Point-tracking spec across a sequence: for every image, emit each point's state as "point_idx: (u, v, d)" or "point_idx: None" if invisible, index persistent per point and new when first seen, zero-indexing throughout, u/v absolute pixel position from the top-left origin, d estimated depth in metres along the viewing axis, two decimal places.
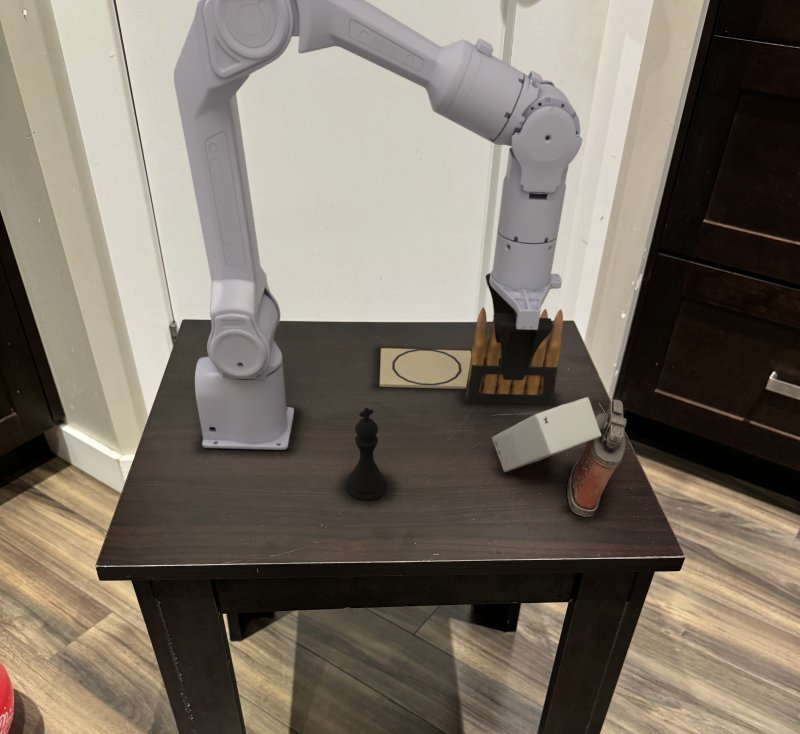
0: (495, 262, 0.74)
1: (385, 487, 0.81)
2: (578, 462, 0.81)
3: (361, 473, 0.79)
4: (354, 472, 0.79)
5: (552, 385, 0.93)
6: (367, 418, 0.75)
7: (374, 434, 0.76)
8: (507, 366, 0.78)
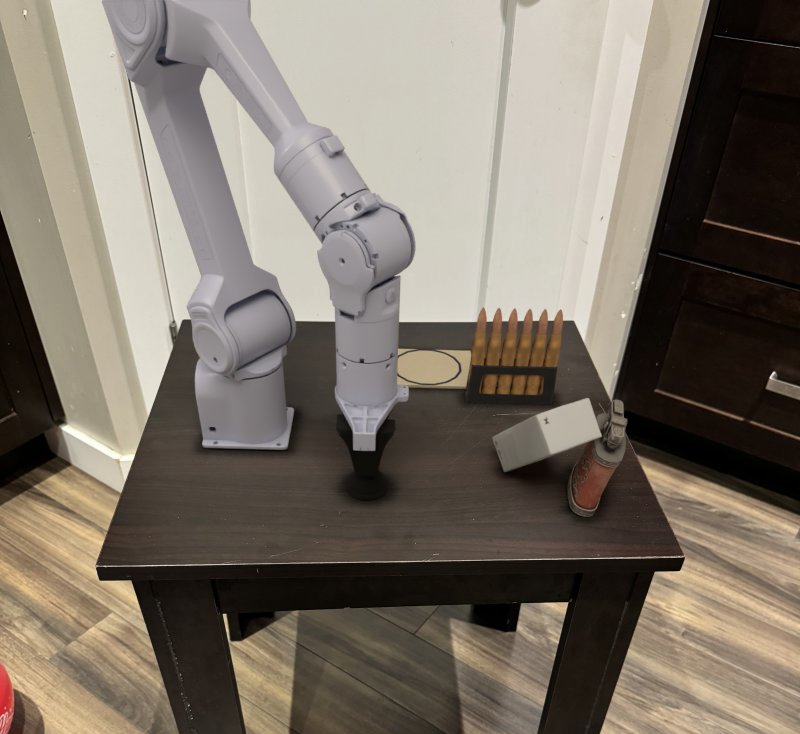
0: None
1: (385, 487, 0.81)
2: (578, 462, 0.81)
3: None
4: (354, 472, 0.79)
5: (552, 385, 0.93)
6: None
7: None
8: (357, 464, 0.77)
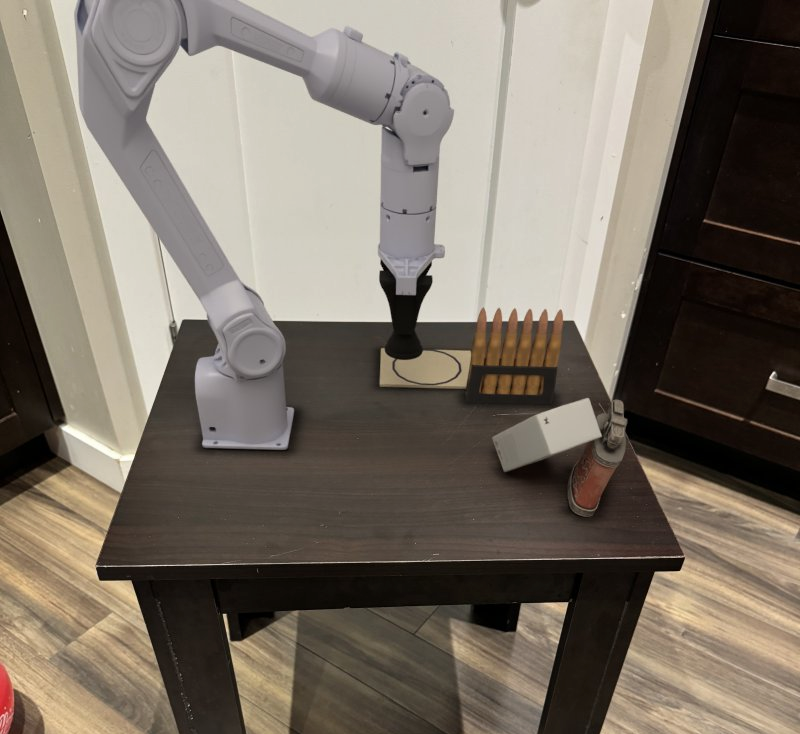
0: (380, 233, 0.79)
1: (421, 349, 0.88)
2: (578, 462, 0.81)
3: None
4: (393, 334, 0.87)
5: (552, 385, 0.93)
6: None
7: None
8: (396, 321, 0.84)
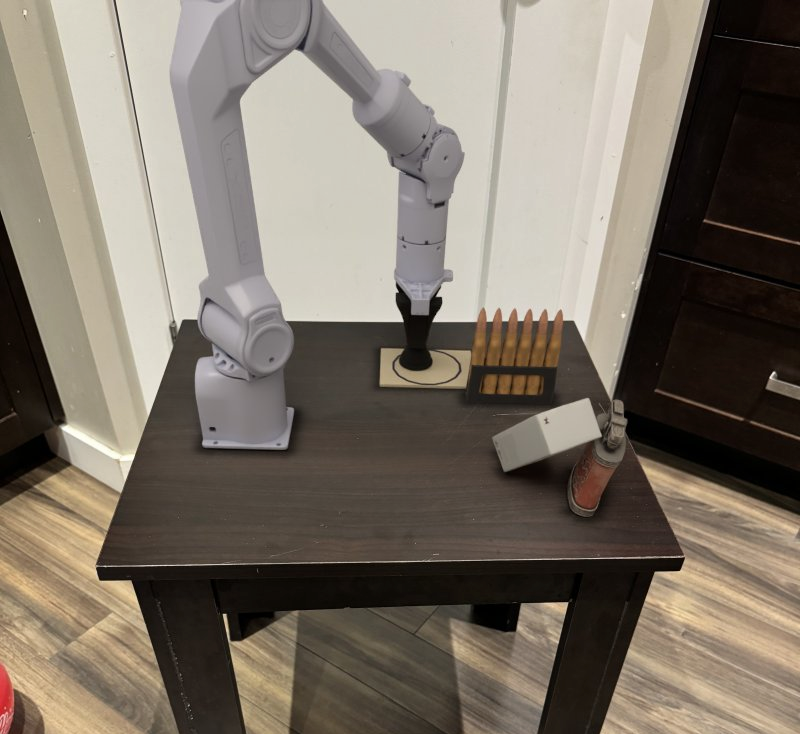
0: (396, 260, 0.90)
1: (431, 361, 0.99)
2: (578, 462, 0.81)
3: None
4: (406, 347, 0.98)
5: (552, 385, 0.93)
6: None
7: None
8: (410, 336, 0.95)
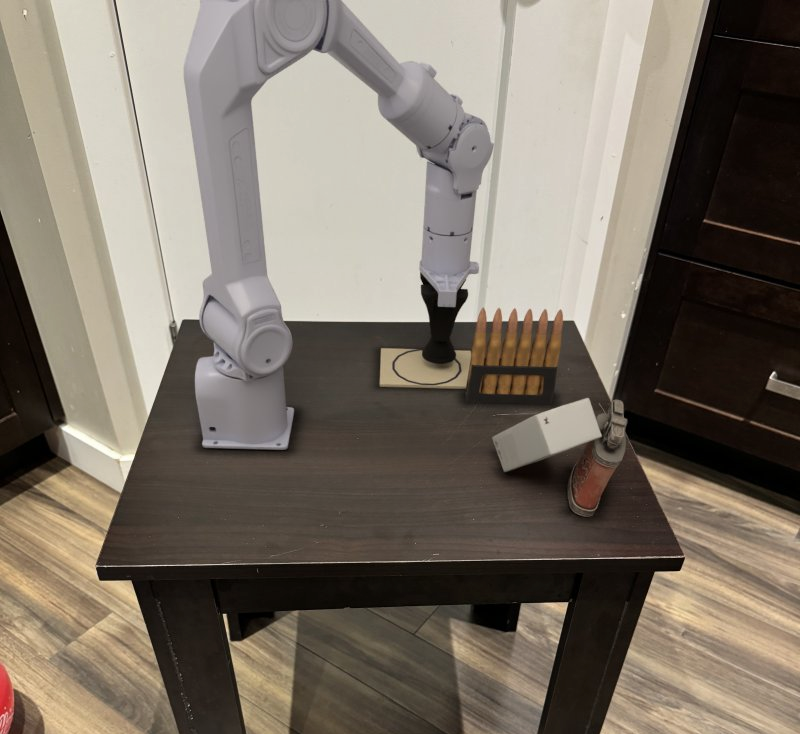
0: (422, 251, 0.89)
1: (454, 354, 0.98)
2: (578, 462, 0.81)
3: None
4: (430, 340, 0.97)
5: (552, 385, 0.93)
6: None
7: None
8: (434, 329, 0.95)
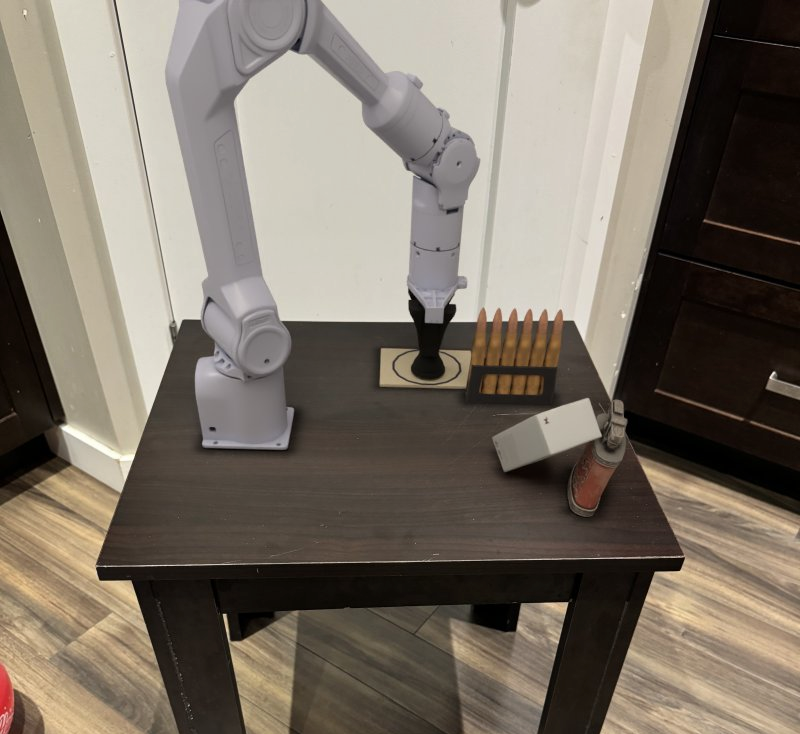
0: (409, 266, 0.88)
1: (444, 369, 0.97)
2: (578, 462, 0.81)
3: None
4: (419, 355, 0.96)
5: (552, 385, 0.93)
6: None
7: None
8: (422, 344, 0.93)
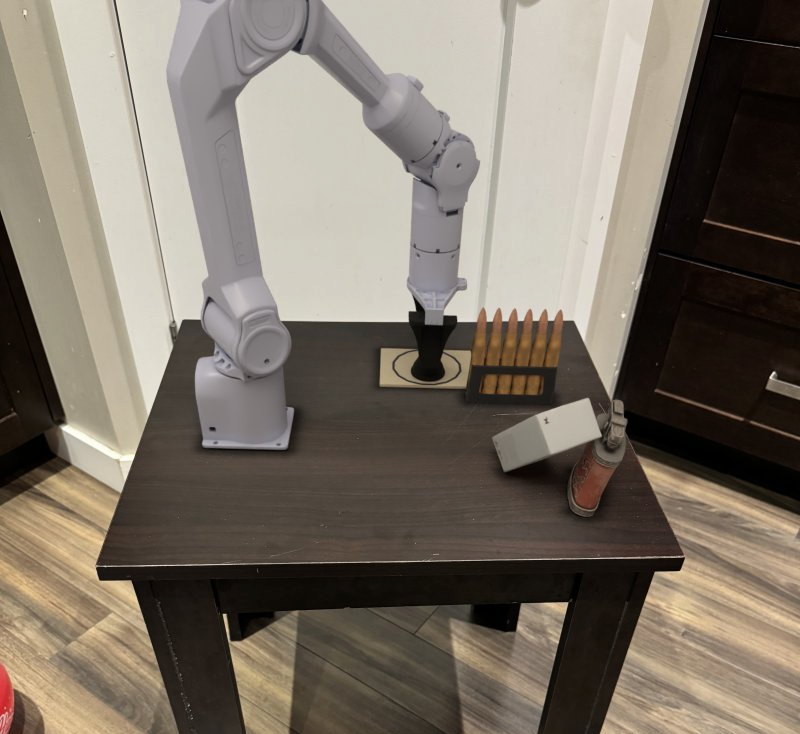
0: (409, 268, 0.88)
1: (443, 371, 0.97)
2: (578, 462, 0.81)
3: None
4: None
5: (552, 385, 0.93)
6: None
7: None
8: (423, 356, 0.92)
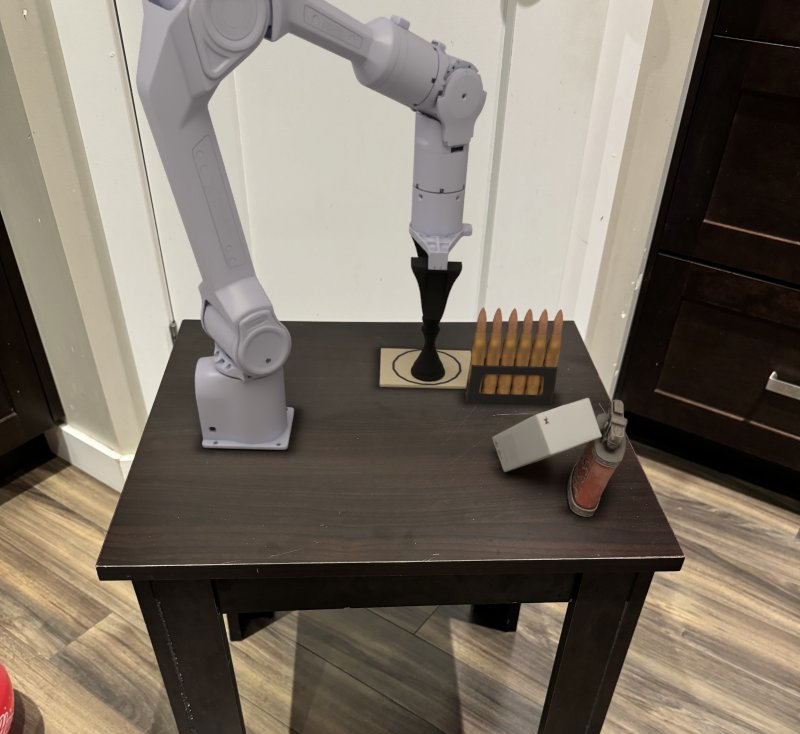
0: (412, 212, 0.84)
1: (443, 371, 0.97)
2: (578, 462, 0.81)
3: (425, 357, 0.95)
4: (419, 358, 0.96)
5: (552, 385, 0.93)
6: None
7: (438, 322, 0.92)
8: (426, 306, 0.87)
